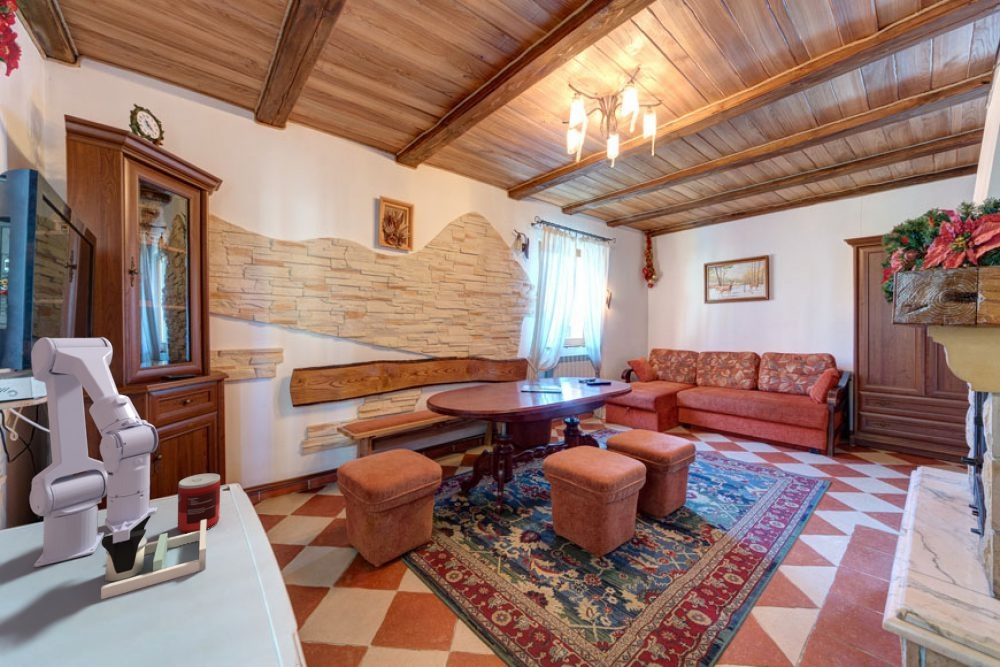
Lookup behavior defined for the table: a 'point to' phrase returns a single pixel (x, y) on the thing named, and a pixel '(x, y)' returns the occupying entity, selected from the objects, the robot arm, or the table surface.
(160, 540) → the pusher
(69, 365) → the robot arm
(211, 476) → the canned food
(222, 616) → the table surface
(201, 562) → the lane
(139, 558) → the jar
